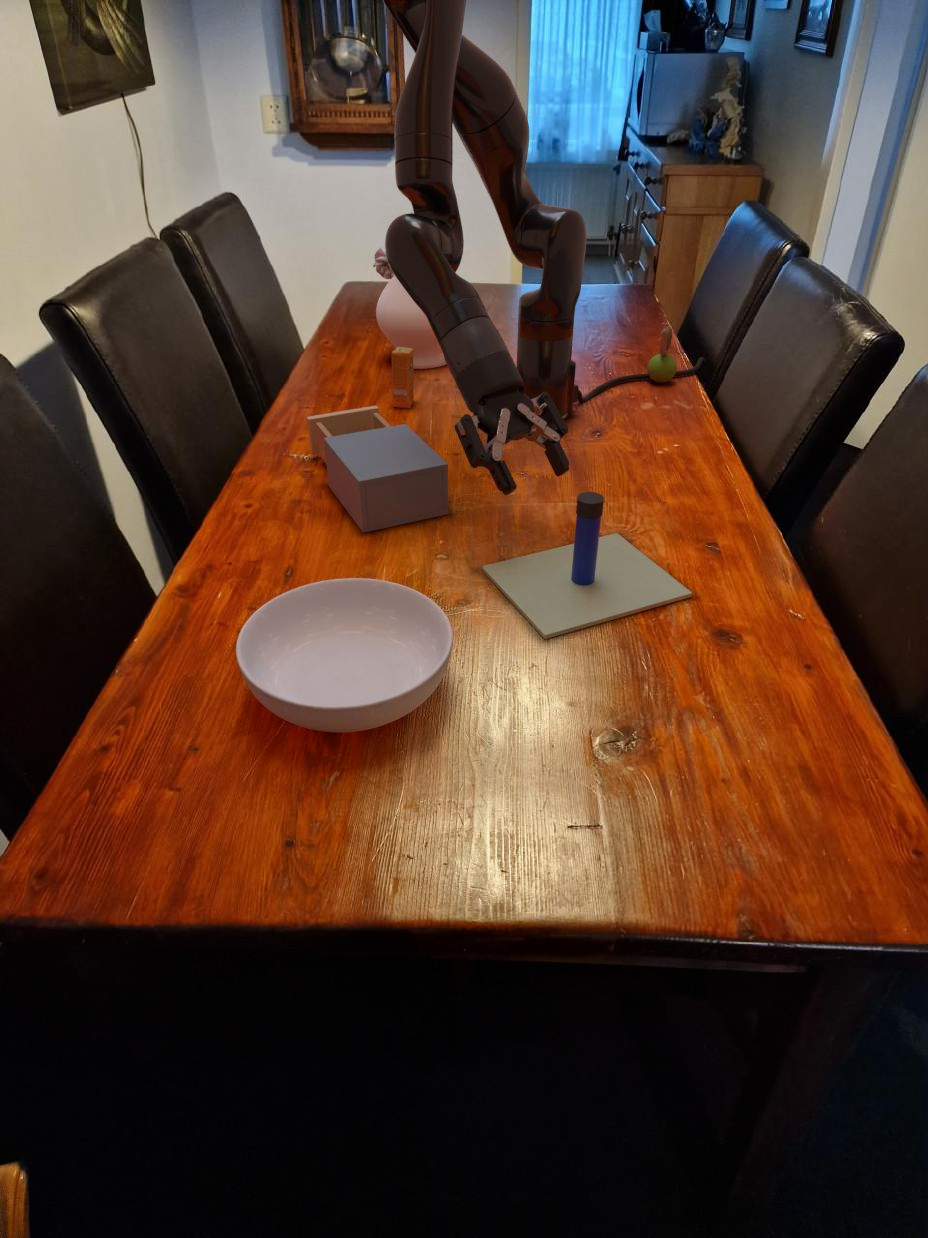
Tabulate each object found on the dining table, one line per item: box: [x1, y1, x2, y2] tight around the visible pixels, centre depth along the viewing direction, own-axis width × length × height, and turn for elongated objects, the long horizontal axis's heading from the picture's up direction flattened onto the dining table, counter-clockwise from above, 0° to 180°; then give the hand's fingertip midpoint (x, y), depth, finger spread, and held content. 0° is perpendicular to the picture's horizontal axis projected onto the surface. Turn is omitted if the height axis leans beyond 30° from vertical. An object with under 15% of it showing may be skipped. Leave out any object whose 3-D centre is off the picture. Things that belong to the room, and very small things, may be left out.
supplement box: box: [391, 347, 414, 409], centre depth 145 cm, size 3×3×10 cm
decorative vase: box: [375, 275, 447, 370], centre depth 162 cm, size 18×18×25 cm
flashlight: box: [571, 491, 605, 585], centre depth 96 cm, size 3×3×11 cm
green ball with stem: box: [646, 322, 678, 384], centre depth 154 cm, size 5×6×12 cm
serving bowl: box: [235, 577, 454, 733], centre depth 81 cm, size 21×21×7 cm
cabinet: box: [323, 423, 449, 534], centre depth 115 cm, size 16×13×8 cm
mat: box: [481, 532, 693, 640], centre depth 99 cm, size 20×16×1 cm
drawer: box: [306, 405, 392, 464], centre depth 125 cm, size 19×11×6 cm, turn 25°
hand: (538, 482), depth 100 cm, fingers open, 8 cm apart
